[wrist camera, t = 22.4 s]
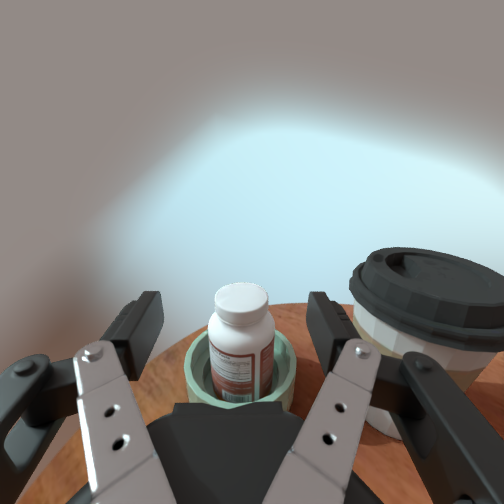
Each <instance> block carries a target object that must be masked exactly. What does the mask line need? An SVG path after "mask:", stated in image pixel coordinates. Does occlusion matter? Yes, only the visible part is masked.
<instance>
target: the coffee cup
mask: <svg viewBox="0 0 504 504" xmlns="http://www.w3.org/2000/svg"><path fill="white" fill-rule="evenodd" d="M349 290H350V291H351V293H352V295H353V296H354V313H353V325H354V327H355V328H356V330H357V331H358V333H359V335H360V336H361V338H362V339H363V340H365V341H368V342H370V343H371V344H373V345H374V346H375V347H376V348H377V349H378V350H379V351H380V354H382V355H386V356H390V357H394V358H398V359H402V358H403V355H404V354H405V353H406V352H409V351H415V352H420V353H423V354H426V355H428V356H430V357H431V358H433V359H434V360H436V361H437V362H438V363H439V364H440V365H441V366H442V367H443V369H444V370H445V371H446V372H447V373H448V374H449V376H450V377H451V378H452V379H453V380H454V382H455V383H456V384H457V385H458V386H459V388H460V389H461V390H462V391H463V392H465V391H466V390H467V389H468V387H469V386H470V385H471V384H472V383H473V381H474V380H475V379H476V378H477V377H478V376H479V374H480V373H481V372H482V371H483V370H484V369H485V367H486V366H487V365H488V364H489V363H490V361H491V360H492V359H493V358H494V357H495V356H496V354H497V353H498V352H501V351H504V276H502V275H500V274H499V273H497V272H495V271H493V270H491V269H489V268H488V267H485V266H483V265H480V264H477V263H475V262H472V261H470V260H467V259H464V258H460V257H456V256H453V255H450V254H446V253H441V252H436V251H432V250H425V249H418V248H405V247H404V248H403V247H393V248H383V249H380V250H377V251H374V252H372V253H371V254H370V255H369V256H368V257H367V260H366V262H363V263H360V264H359V265H358V266H357V267H356V268H355V269H354V270H353V276H352V277H351V278H350V281H349ZM365 420H366V421H367V422H368V423H369V424H370V425H371V426H372V427H374V428H375V429H377V430H379V431H380V432H382V433H383V434H385V435H387V436H390V437H393V438H395V439H398V440H402V438H401V436H400V434H399V432H398V430H397V428H396V426H395V424H394V422H393V420H392V418H391V416H390V414H389V412H388V411H385V410H382V409H379V408H375V407H372V406H369V407H368V411H367V414H366V418H365Z"/></svg>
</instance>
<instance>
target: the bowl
mask: <svg viewBox="0 0 504 504" xmlns="http://www.w3.org/2000/svg"><path fill="white" fill-rule="evenodd" d="M296 361H297V359H296V356H295V353H294V350H293V347H292V345H291V344H290V342H289V341H288V340H287V339H286V337H285V336H284V335H283V334H282V333H280V332H279V331H277V330H276V329H275V340H274V359H273V380H272V388H271V391H270V394H269V396H266V397H264V398H262V399H259V400H257V401H254V402H261V401H282V407H283V410H284V411H287V412H288V411H289V409H290V407H291V404H292V401H293V393H294V384H295V376H296ZM184 373H185V380H186V388H187V395H188V400H189V403H205V404H209V405H213V406H217V407H221V408H225V409H231V408H235V407H238V406H242V405H245V404H249V403H252V402H247V403H236V404H234V403H230V402H225V401H221V400H218V399H217V398H216V396H215V393H214V390H213V384H212V372H211V360H210V348H209V337H208V330H206V331H204V332H203V333H202V334H201V335H200V336H198V337H197V338H196V339H195V340H194V341H193V343H192V345H191V346H190V348H189V350H188V351H187V353H186V358H185V363H184Z"/></svg>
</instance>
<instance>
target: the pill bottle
mask: <svg viewBox="0 0 504 504" xmlns="http://www.w3.org/2000/svg"><path fill="white" fill-rule="evenodd" d="M208 337H209V348H210V360H211V372H212V384H213V390H214V393H215V396H216V398H217V399H218V400H221V401H225V402H230V403H234V404H236V403H247V402H254V401H257V400H259V399H262V398H264V397H266V396H269V394H270V391H271V388H272V380H273V359H274V340H275V323H274V319H273V317H272V315H271V314H270V312H269V311H268V294H267V292H266V291H265V290H264V289H263V288H262V287H260V286H258V285H256V284H252V283H245V282H239V283H232V284H228V285H226V286H224V287H222V288H221V289H219V290H218V291H217V293H216V295H215V313H213V315H212V316H211V318H210V320H209V324H208Z"/></svg>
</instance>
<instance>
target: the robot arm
mask: <svg viewBox="0 0 504 504" xmlns="http://www.w3.org/2000/svg"><path fill="white" fill-rule="evenodd" d="M163 323H164V313H163V307H162V300H161V294H160V292H159V291H144V292H143V293H142V294H141V296H140V297H139V299H138V300H137V301H132V302H130V303H129V304H128V305H126V306H125V307H124V308H123V309H122V310H121V312H120V313H119V315H118V316H117V317H116V319H115V321H113V322H112V324H111V325H110V327H109V328H108V329H107V330H106V332H105V333H104V335H103V336H102V337H101V339H100V340H99V341H96V342H93V343H90V344H88V345H86V346H84V347H83V348H81V349H80V350H79V351H78V352H77V353H76V354H75V356H74V358H69V359H66V360H61V361H57V362H53V363H51V362H50V359H49V357H48V356H46V355H44V354H36V355H31V356H28V357H25V358H23V359H20V360H18V361H17V362H15V363H14V364H12V365H10V366H9V367H8V368H7V369H6V370H4V372H3V373H2V374H1V375H0V504H15V502H16V500H17V499H18V497H19V495H20V494H21V492H22V490H23V489H24V487H25V485H26V484H27V482H28V480H29V479H30V477H31V475H32V474H33V472H34V470H35V469H36V467H37V465H38V464H39V462H40V460H41V459H42V457H43V455H44V453H45V452H46V450H47V449H48V447H49V445H50V443H51V442H52V440H53V438H54V437H55V435H56V433H57V432H58V430H59V428H60V427H61V425H62V423H63V422H64V420H65V418H66V417H67V416H70V415H74V414H76V413H78V414H79V420H80V427H81V433H82V440H83V446H84V453H85V459H86V466H87V472H88V479H89V481H88V482H87V483H86V484H85V485H84V486H83V487H82V488H81V489H80V490H79V491H78V492H77V493H76V494H75V495H74V496H73V497H72V498H71V499H70V500H69V501H68V502H67V503H66V504H384V503H383V502H382V501H381V500H380V499H379V498H378V497H377V496H376V495H375V494H374V492H373V491H372V490H371V489H370V488H369V487H368V486H367V485H366V484H365V483H364V482H363V481H362V480H361V479H360V478H359V476H358V475H357V474H356V473H355V472H354V471H353V470H352V467H353V463H354V459H355V456H356V452H357V448H358V444H359V441H360V437H361V433H362V429H363V426H364V422H365V418H366V414H367V411H368V407H369V406H372V407H375V408H379V409H382V410H385V411H388V412H389V414H390V416H391V418H392V420H393V422H394V424H395V426H396V428H397V430H398V432H399V434H400V436H401V438H402V440H403V442H404V444H405V446H406V449H407V451H408V453H409V455H410V457H411V459H412V461H413V463H414V465H415V467H416V469H417V471H418V473H419V475H420V477H421V479H422V481H423V483H424V485H425V487H426V489H427V491H428V493H429V495H430V497H431V499H432V501H433V504H504V440H503V439H502V438H501V437H500V435H499V434H498V433H497V432H496V431H495V429H494V428H493V427H492V426H491V425H490V423H489V422H488V421H487V420H486V419H485V417H484V416H483V415H482V414H481V413H480V412H479V410H478V409H477V408H476V407H475V406H474V404H473V403H472V402H471V401H470V400H469V398H468V397H467V396H466V395H465V394H464V392H463V391H462V390H461V389H460V388H459V386H458V385H457V384H456V383H455V382H454V380H453V379H452V378H451V377H450V376H449V374H448V373H447V372H446V371H445V370H444V369H443V367H442V366H441V365H440V364H439V363H438V362H437V361H436V360H434V359H433V358H431V357H430V356H428V355H426V354H423V353H420V352H415V351H409V352H406V353H405V354H404V355H403V358H402V359H398V358H394V357H390V356H386V355H382V354H380V351H379V350H378V349H377V348H376V347H375V346H374V345H373V344H371V343H370V342H368V341H365V340H363V339H362V338H361V336H360V335H359V333H358V331H357V330H356V328H355V327H354V325H353V323H352V322H351V320H350V319H349V317H348V315H346V312H345V310H344V309H343V307H342V306H341V305H339V304H338V303H337V302H335V301H330V300H329V298H328V297H327V295H326V293H325V292H310V293H309V299H308V306H307V313H306V323H307V327H308V330H309V333H310V336H311V338H312V341H313V344H314V347H315V350H316V352H317V355H318V358H319V361H320V364H321V366H322V369H323V372H324V375H325V378H326V379H325V381H324V383H323V385H322V387H321V389H320V391H319V393H318V395H317V397H316V399H315V401H314V403H313V405H312V407H311V410H310V412H309V414H308V416H307V418H306V420H305V421H304V420H303V419H302V418H300V417H298V416H296V415H295V414H292V413H290V412H287V411H284V410H283V407H282V401H261V402H252V403H249V404H245V405H242V406H238V407H235V408H231V409H225V408H221V407H217V406H213V405H209V404H205V403H175V405H174V409H173V413H170V414H167V415H164V416H162V417H160V418H158V419H156V420H154V421H153V422H151V423H150V424H148V425H147V426H146V425H145V423H144V420H143V418H142V415H141V412H140V410H139V407H138V405H137V402H136V399H135V397H134V394H133V392H132V389H131V386H130V384H129V381H138V380H139V378H140V375H141V373H142V371H143V369H144V367H145V364H146V362H147V360H148V358H149V356H150V353H151V351H152V349H153V347H154V344H155V342H156V340H157V338H158V336H159V333H160V331H161V329H162V326H163ZM20 416H21V419H20V420H19V421H18V422H17V424H16V425H15V426H14V427H13V429H12V430H11V431H10V433H9V434H8V432H9V430H10V429H11V428H12V426H13V425H14V424H15V423H16V421H17V420H18V419H19V417H20ZM7 434H8V435H7ZM6 436H7V437H6Z"/></svg>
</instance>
